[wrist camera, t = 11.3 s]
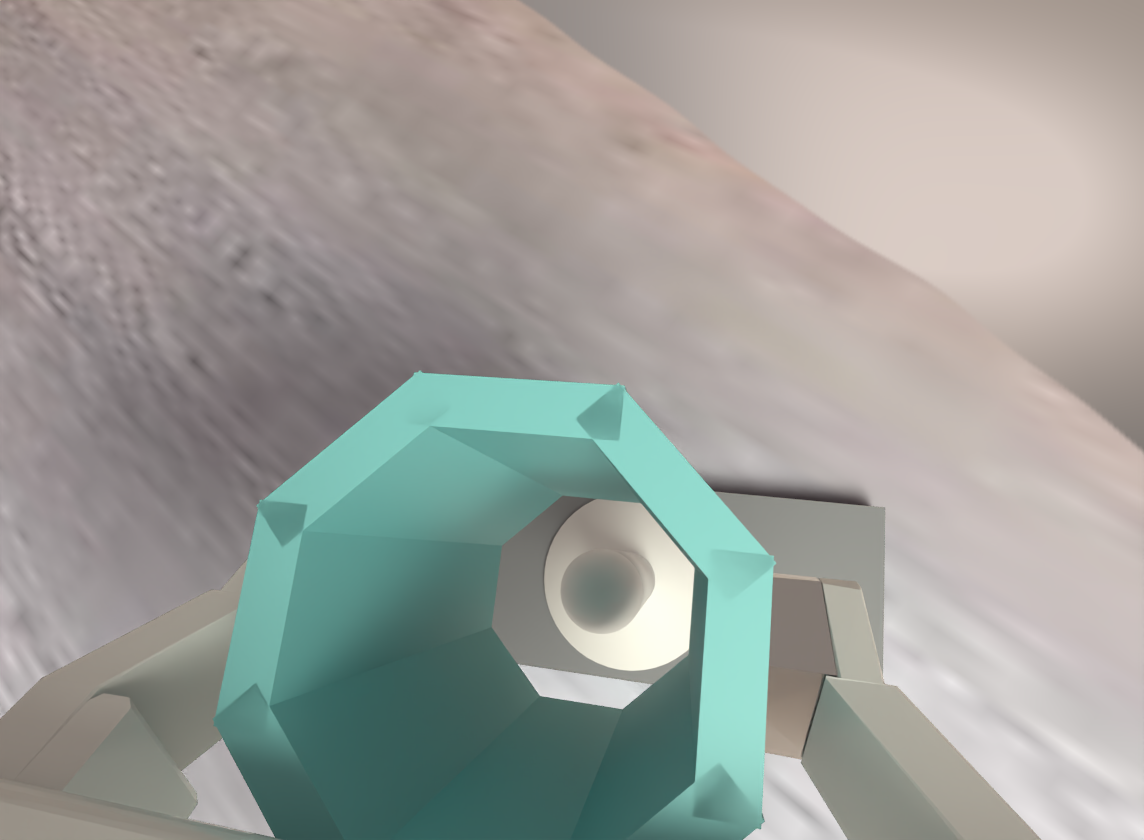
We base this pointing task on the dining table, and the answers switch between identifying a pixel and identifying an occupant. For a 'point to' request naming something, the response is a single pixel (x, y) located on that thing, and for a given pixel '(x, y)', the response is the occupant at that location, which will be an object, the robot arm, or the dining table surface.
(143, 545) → the dining table surface
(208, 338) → the dining table surface
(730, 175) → the dining table surface
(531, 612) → the post stand
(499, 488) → the collar
